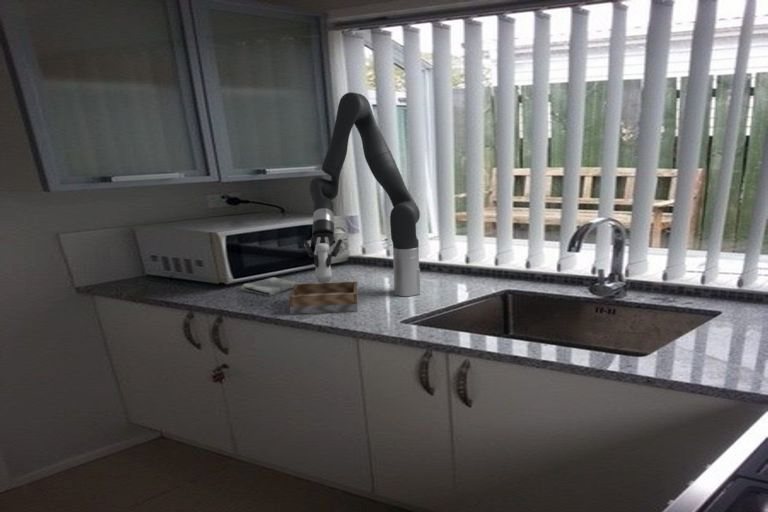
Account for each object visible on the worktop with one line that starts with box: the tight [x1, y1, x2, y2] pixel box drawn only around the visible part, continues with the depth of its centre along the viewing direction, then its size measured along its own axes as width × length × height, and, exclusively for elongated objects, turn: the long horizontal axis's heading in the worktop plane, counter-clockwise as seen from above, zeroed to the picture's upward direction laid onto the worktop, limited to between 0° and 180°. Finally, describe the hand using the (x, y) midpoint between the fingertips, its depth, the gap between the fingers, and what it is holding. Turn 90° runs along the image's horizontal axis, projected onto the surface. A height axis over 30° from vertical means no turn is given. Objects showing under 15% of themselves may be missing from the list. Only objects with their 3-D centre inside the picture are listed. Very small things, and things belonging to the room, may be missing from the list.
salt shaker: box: [314, 243, 333, 283], centre depth 177 cm, size 6×6×13 cm
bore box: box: [288, 281, 359, 315], centre depth 179 cm, size 22×16×6 cm
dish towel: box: [240, 277, 303, 297], centre depth 205 cm, size 19×18×3 cm
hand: (322, 266), depth 175 cm, fingers closed on salt shaker, 3 cm apart
